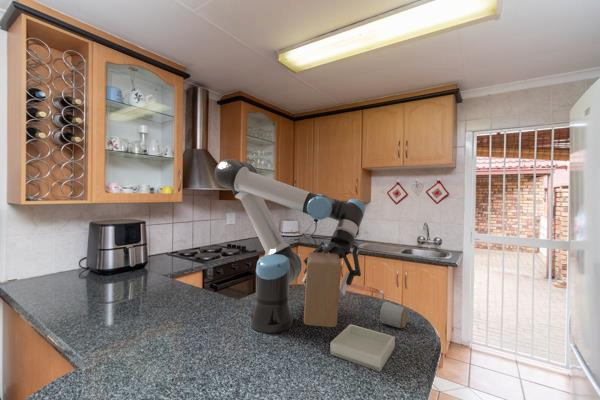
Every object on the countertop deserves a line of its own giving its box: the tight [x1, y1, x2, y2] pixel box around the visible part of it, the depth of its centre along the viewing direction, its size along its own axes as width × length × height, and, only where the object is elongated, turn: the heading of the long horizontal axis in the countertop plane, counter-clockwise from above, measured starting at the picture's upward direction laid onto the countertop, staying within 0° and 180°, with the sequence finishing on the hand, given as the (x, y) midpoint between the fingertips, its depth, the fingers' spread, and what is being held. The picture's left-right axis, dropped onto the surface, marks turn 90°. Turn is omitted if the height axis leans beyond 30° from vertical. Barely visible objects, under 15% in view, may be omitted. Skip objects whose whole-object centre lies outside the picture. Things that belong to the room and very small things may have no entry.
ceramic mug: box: [379, 301, 409, 329], centre depth 105 cm, size 11×8×8 cm
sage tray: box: [329, 323, 396, 372], centre depth 86 cm, size 15×15×4 cm
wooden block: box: [303, 251, 342, 328], centre depth 89 cm, size 10×10×20 cm
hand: (322, 288), depth 90 cm, fingers closed on wooden block, 13 cm apart
